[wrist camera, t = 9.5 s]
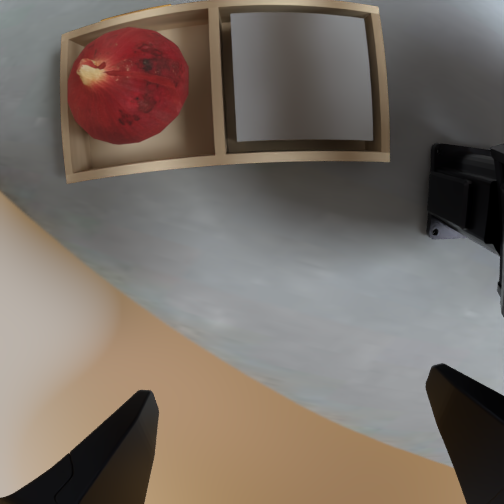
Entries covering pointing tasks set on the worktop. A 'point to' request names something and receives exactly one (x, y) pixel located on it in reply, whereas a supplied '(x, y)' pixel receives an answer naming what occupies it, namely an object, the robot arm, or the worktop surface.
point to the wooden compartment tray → (250, 87)
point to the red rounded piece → (128, 85)
